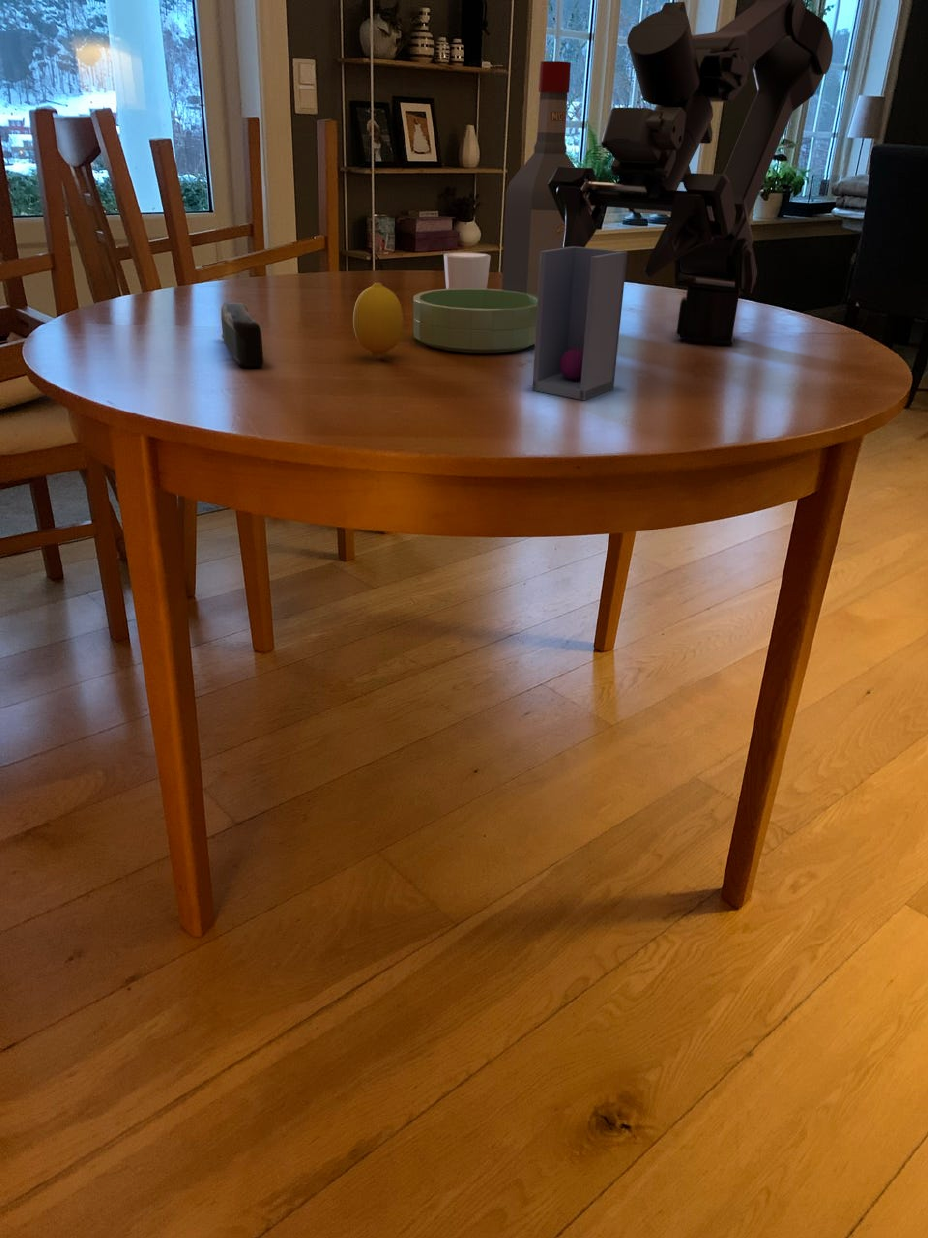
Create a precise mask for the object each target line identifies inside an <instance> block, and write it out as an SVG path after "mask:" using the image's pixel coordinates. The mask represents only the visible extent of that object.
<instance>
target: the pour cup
mask: <svg viewBox="0 0 928 1238" xmlns="http://www.w3.org/2000/svg"><path fill="white" fill-rule="evenodd" d="M628 253H629V252H628V251H624V250H616V249H615V250H613V249H604V248H596V247H586V246H585V247H577V246H571V247H565V248H558V249H551V250H545V251H541V255H540V271H539V288H538V304H537V320H536V337H535V344H534V352H533V353H534V355H533V356H534V357H533V369H532V371H533V372H532V388H531V390H532V391H535V392H539V393H540V392H541V393H545V394H550V395H554V396H561V397H564V398H569V399H574V400H580V401H586V400H589V399H592V398H594V397H596V396H599V395H601V394H604V393H606V392H609V391H611V390H614V385H615V376H616V367H617V356H618V347H619V337H620V328H621V319H622V309H623V300H624V299H623V298H624V290H625V280H626V270H627V260H628ZM571 349H579V350H582V351H583V360H582V371H581V379H579V380H570V379H567V378H566V377H565V376H564V375H563V374H562V373H561V370H560V360H561V357H562V356H563V354H564V353H565V352H567V351H569V350H571Z"/></svg>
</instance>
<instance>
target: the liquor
mask: <svg viewBox="0 0 928 1238" xmlns="http://www.w3.org/2000/svg"><path fill="white" fill-rule="evenodd" d="M539 64H540V65H539V78H538V80H539V81H538V92H539V104H538V106H539V107H538V117H537V131H536V132H537V133H536V142H535V144H534V147H533V154H532V155H531V156H530V157H529V158H528V159H527V161H526V162H525V163H524V164H523V165H522V167H521V168H520V169H519V170H518V172H517V173H516V174H515V175H514V176H513V178H511V180H510V181H509V184H508V186H507V188H506V191H505V209H504V235H503V256H502V281H501V290H508V291H516V292H523V293H527V294H532V295H535V296H537V297H538V288H539V271H540V255H541V251H545V250H551V249H558V248H563V246H564V237H565V228H566V223H565V222H564V221H563V220H562V218H561V216H560V213H559V211H558V208H557V206H556V204H555V201H554V199H553V196H552V194H551V192H550V189H549V187H548V183H549V181H550V180H551V178H552V176H553V174H554V172H555V171H556V169H557V168H558V167H576V166H575V165H574V163H573V162H572V160H571V159H570V157H569V155H567V150H568V149H567V145H566V144H567V143H566V129H567V127H566V126H567V113H568V112H567V110H568V109H567V108H568V93H570V85H571V69H572V67H571V66H572V62H570V61H559V60H547V61H546V60H543V61H540V63H539Z"/></svg>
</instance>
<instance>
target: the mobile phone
mask: <svg viewBox="0 0 928 1238" xmlns="http://www.w3.org/2000/svg"><path fill="white" fill-rule="evenodd" d="M220 314H221V315H220V318H221V319H220V320H221V328H222V329H221V331H222V334H221V339H223V342H224V344H225V346H226V348H227V349H228V351H229V353H230V355H231V356H232V358H233V359H234V361H235V363H237V365H238V366H240V367H244V368H257V367H262V366H263V365H264V354H263V343H262V342H263V341H262V330H261V326H260V324H259V323H258V322H256V321H255V320H254V318H253V316H252V315H251V314H250V313H249V309H248V307H247V305H246V304H245V303H243V302H237V301H236V302H234V301H232V302H230V301H229V302H224V303H223V304H222V305H221V309H220Z"/></svg>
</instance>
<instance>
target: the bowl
mask: <svg viewBox="0 0 928 1238" xmlns="http://www.w3.org/2000/svg"><path fill="white" fill-rule="evenodd" d="M412 297H413V299H412V301H413V304H412V307H413V310H412V311H413V313H412V315H413V320H412V321H413V324H412V326H413V329H412V330H413V332H412V333H413V334H412V335H413V338H415V339H416V340H418V341H419V342H422V343H424V344H425V345H426V346H429V347H432V348H435V349H437V350H438V349H439V350H443V351H449V352H456V353H465V354H466V353H467V354H501V353H511V352H517V351H522V350H525V349H527V348H529V347H530V346H534V345H535V337H536V320H537V304H538V297H537V296H535V295H532V294H527V293H523V292H516V291H508V290H502V289H499V288H498V289H497V288H487V289H483V288H454V289H446V288H441V289H432V290H431V289H430V290H426V291H422V292H419V293H417V294H414V295H413V296H412Z"/></svg>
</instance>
